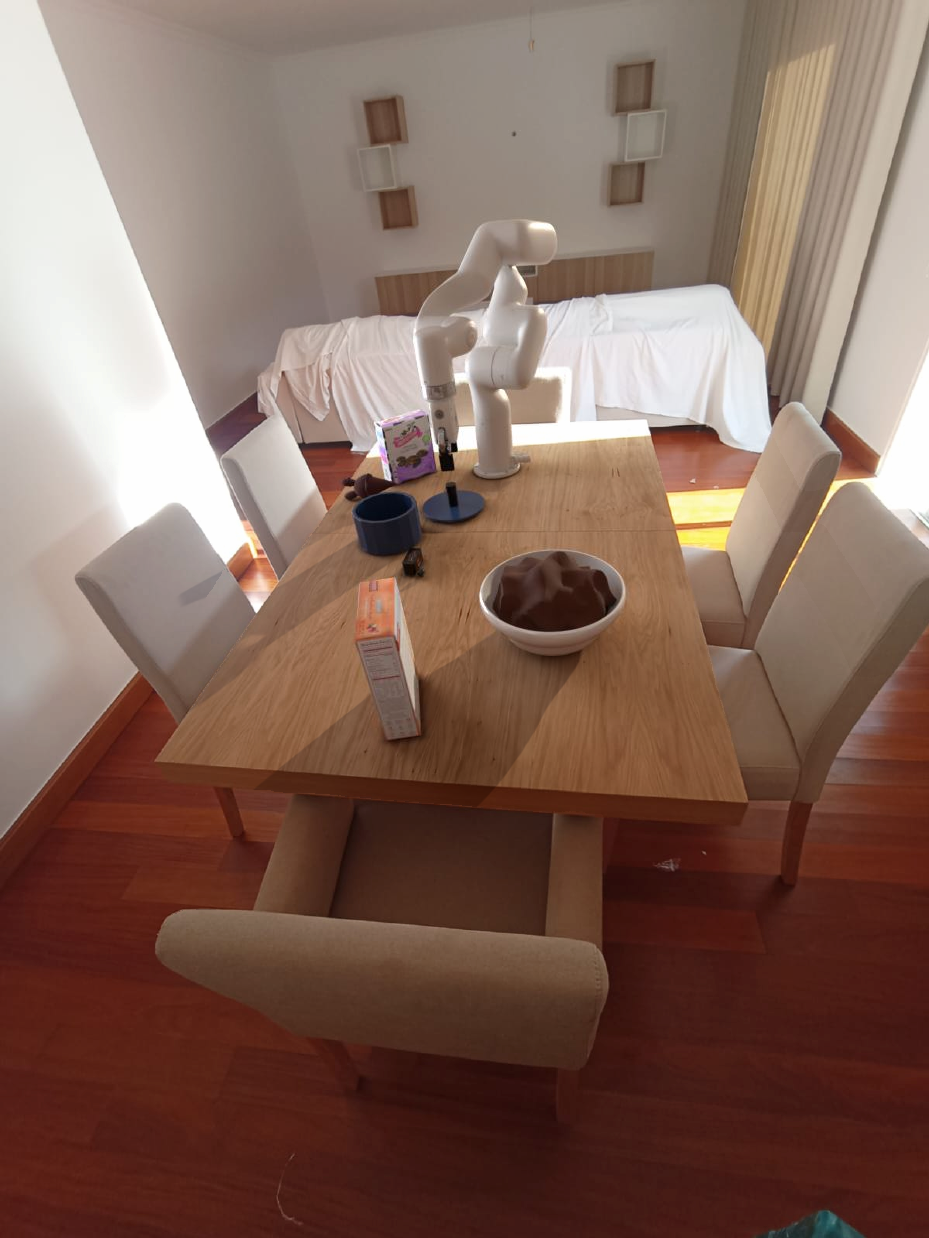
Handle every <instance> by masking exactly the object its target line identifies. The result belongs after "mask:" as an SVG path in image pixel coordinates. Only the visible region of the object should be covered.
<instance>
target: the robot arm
mask: <svg viewBox="0 0 929 1238" xmlns="http://www.w3.org/2000/svg"><path fill="white" fill-rule="evenodd" d="M557 248H558V236H557V232H556V230H555V227H554V226H553V225H552V224H551V223H550V222H548V221H541V220H539V221H538V220H532V219H526V218H525V219H524V218H516V219H502V220H501V219H500V220H489V221H487V222H483V223H482V224H480V226H478V227H477V229H476V231H475V232H474V234H473V237H472V239H471V240H470V243H469V245H468V247H467V250H466V252H465V255H464V256H463V259H462V261H461V263H460V266H459V267H458V270H457V271H456V273H454V274H452V275H451V276H449V278H447V279H446V280H445V281H443V283H441V284H440V285H439V286H438V287H437V288H435V289H434V290H433V291H431V293H430V294H429V295H428V296H427V297H426V298H425V300H424V302H423V303H422V306H421V307H420V310H419V313H418V315H417V317H416V319H415V322H414V326H413V332H412V333H413V334H412V335H413V336H412V340H413V341H412V342H413V348H414V354H415V359H416V365H417V370H418V371H417V372H418V377H419V382H420V388H421V394H422V399H423V400H424V401H425V402H428V408H429V417H430V423H431V429H432V434H433V439H434V443H435V445H436V446H437V450H438V461H439V467H440V471H441V472H442V473H443V472H453V471H455V470H456V467H455V460H454V453H458V452H459V448H458V437H459V432H460V425H459V424H460V423H459V419H458V414H457V413H458V412H457V407H456V401H455V396H457V386H456V385H457V384H456V379H455V373H454V372H455V371H454V364H453V359H455V358H458V357H462V356H464V355H466V354H467V356H466V357H465V362H464V370H465V371H464V373H465V375H466V376H465V377H466V380H467V383H468V384H467V385H468V386H469V391H470V395H471V402H472V409H473V419H474V420H473V421H474V429H475V438H476V439H475V440H476V449H477V459H478V461H477V462H476V463H475V464H474V465H473V473H474V475H476V476H478V477H479V478H483V479H490V480H493V479H494V480H497V479H502V478H503V479H504V478H507V477H510V476H512V475H515V474H516V473H517V472H519V470H520V468H521V465H520V464H521V463H523V464H525V463H531V455H530V454H526V453H527V452H516V451H515V447H514V444H513V443H514V442H513V431H512V430H513V429H512V427H513V426H512V413H511V411H512V410H511V402H510V399H509V396H508V393H506V391H505V390H510V391H523V390H527V389H528V388H530V386H531V385H532V383H533V381H534V379H535V375H536V373H537V369H538V366H539V363H540V360H541V356H542V352H543V349H544V346H545V343H546V339H547V333H548V318H547V314H546V312H545V311H544V309H543V308H542V307H540V306H538V305H534V304H526V302H527V300H528V295H529V293H528V291H529V290H528V287H527V284H526V282H525V280H524V278H523V277H522V275H521V274H520V272H519V271H518V268H517V266H518V267H519V266H520V267H521V266H544V265H548V264H549V263H551V262H552V261H553V259H554V257H555V255H556V252H557ZM492 290H493V291H492ZM491 292H492V296H491V298H490V302H489V305H488V308H487V312H486V316H485V318H484V322H483V326H482V338H483V340H484V343H487V345H484V346H477V347H476V345H477V342H478V339H479V338H478V337H479V331H478V326H477V324H476V323H475V322H474V321H473V319H471V318H469V317H467V316H459V315H456V316H455V315H453V314H454V313H456V312H458V311H460V310H463V309H466V308H468V307H472V306H473V305H476V304H477V303H480V302H482V301H484V300H485V299H486V298H488V297H489V296H490V295H491ZM452 315H453V316H452Z"/></svg>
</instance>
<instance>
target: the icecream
mask: <svg viewBox="0 0 929 1238" xmlns="http://www.w3.org/2000/svg"><path fill="white" fill-rule="evenodd" d="M340 483H341V485H342V486H344V487H349V488H351V487H353V490H350V491H348V492H345V494H344V499H345V500H347V501H348V500H349V501H350V500H352V501H353V500H354V499H356V498H357V497H359V498H361V499H364V498H367V497H369V496H371V495H374V494H378V493H383V492H385V491H387V490H389V489H390V488H393V487H395V486H397V485H396V482H392V481H388V480H386V479H385V478H380V477H376V476H373V475H372V473H369V472H367V473H364V474H362V475H360V476H359V477H357V478H356V479H353V478H351V477H350V476H348V477H344V478H342V479H341V481H340Z"/></svg>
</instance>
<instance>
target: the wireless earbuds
mask: <svg viewBox="0 0 929 1238" xmlns="http://www.w3.org/2000/svg"><path fill="white" fill-rule="evenodd" d="M423 562H424V556H423V551H422V548H421V547H412V548H410V549H409V550H407V551H406V554H405V556H404V558H403V559H402V561H401V564H402V569H403V574H404V575H405V576H412V577H415V576H416V575H417V577H419V578H424V576H425V575H424V574H425V569H424V568H421V566H422V563H423Z"/></svg>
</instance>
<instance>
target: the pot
mask: <svg viewBox="0 0 929 1238" xmlns="http://www.w3.org/2000/svg"><path fill="white" fill-rule="evenodd" d="M351 516H352V520H353V523H354V526H355V532H356V535H357V538H358V543H359V546H360V548H361V549H362V550H363V552H364V553H367V554H369V555H373V556H380V557H383V556H385V557H386V556H394V555H399V554H401V553H404V552H408V550H409V549H410V548H415V546H417V545H418V544H419V542H420V541H421V539H422V536H423V535H422V533H423V530H422V525H421V520H420V513H419V508H418V502H417V500H416V498H415V497H414V496H413V495H411V494H409V493H407V492H404V491H402V492H401V491H382V492H380V493H378V494H374V495H371V496H369V497H367V498H364V499H363V498H361V499H360V500H359V501H358V502H356V504H355V505H353V508H352V510H351Z"/></svg>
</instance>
